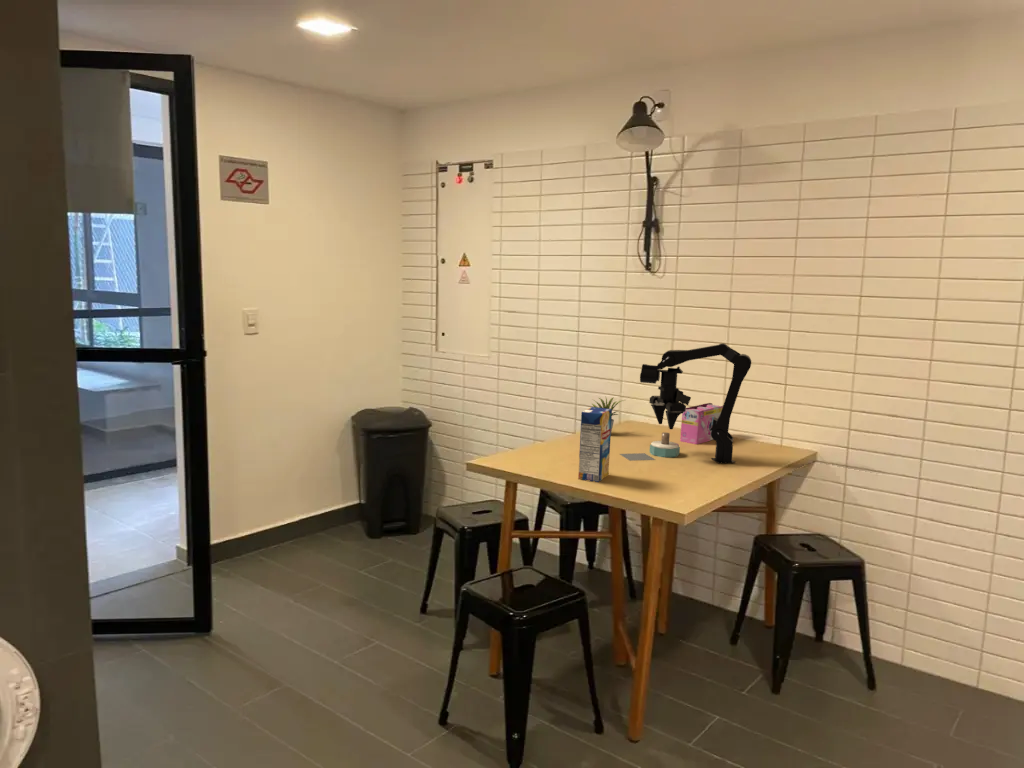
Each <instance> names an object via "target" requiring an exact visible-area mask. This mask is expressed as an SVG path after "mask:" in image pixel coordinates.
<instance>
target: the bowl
mask: <svg viewBox="0 0 1024 768" xmlns="http://www.w3.org/2000/svg"><path fill="white" fill-rule="evenodd" d="M680 448H681V446H679V448H676V449H661V448H656V447H653V446H651V444H650V445H649V453H650V455H652V456H654V457H659V458H677V457H678V456H679V455H680V450H681V449H680Z"/></svg>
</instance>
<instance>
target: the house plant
mask: <svg viewBox="0 0 1024 768" xmlns="http://www.w3.org/2000/svg"><path fill="white" fill-rule="evenodd" d="M591 400H593V401H594V402H595V403H596V404H597V405H598V406H597V405H596V404H594V403H591V405H592V407H597V408H606V409H612V417H613V416H619V414H621V412H620V411H614V412H613V409H614V408H615V407H616V406H617V405H619V404H620V403H621V402H624V401H626V399H625V400H624V399H623V400H619V401H616V400H615V398H614V397H611V398H610V399H609V401H608V398H607V396H605V401H604V400H603V399H602V398H601V397H598V400H599V401H600V402H601V404H602V405H601V404H600V403H599V402H598V401H596V400H595V399H591ZM613 401H614V402H613ZM618 413H619V414H618ZM614 422H615V420H614V419H613V418H612V420H611V433H612V432H613V426H614Z"/></svg>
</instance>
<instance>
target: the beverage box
mask: <svg viewBox="0 0 1024 768" xmlns="http://www.w3.org/2000/svg"><path fill="white" fill-rule="evenodd" d="M597 407H598V406H597ZM597 407H594V406H592V407H588V408H587V409H585V410H583V411H581V414H580V415H581V417H580V437H579V453H578V478H577V480H579V479H583V480H582V481H586V480H590V481H589V482H593V481H595V483H600V482H601V481H602V480H604V479H605V478H606V477H608V476H609V473H610V457H611V456H610V455H611V453H610V452H611V451H610V450H611V435H612V432H611V420H612V419H613V418H612V417H613V416H612V413H613V410H612V409H611V408H609V409H606V408H600V407H598V408H597ZM604 477H605V478H604ZM603 478H604V479H603ZM599 481H600V482H599Z"/></svg>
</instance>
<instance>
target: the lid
mask: <svg viewBox="0 0 1024 768" xmlns="http://www.w3.org/2000/svg"><path fill="white" fill-rule="evenodd" d="M650 445H651V446H653V447H656V448H661V449H676V448H679V447H680V444H679V443H678V442H674V441H670V432H666V431H663V432H661V440H654V441H651V444H650Z"/></svg>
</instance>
